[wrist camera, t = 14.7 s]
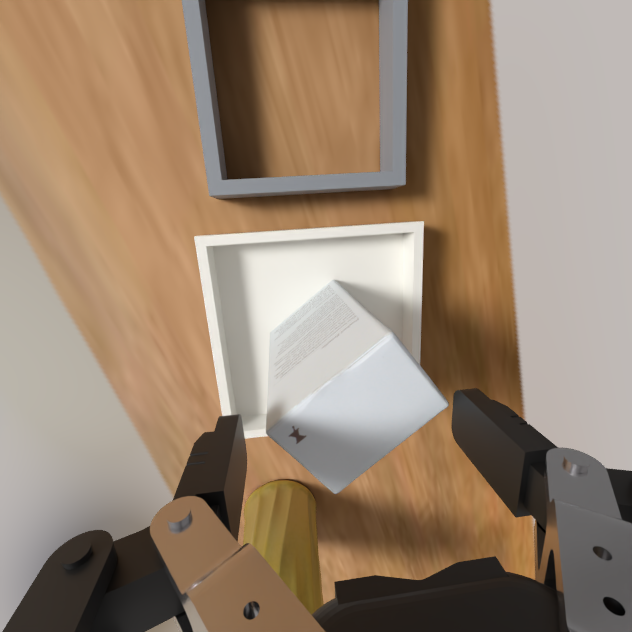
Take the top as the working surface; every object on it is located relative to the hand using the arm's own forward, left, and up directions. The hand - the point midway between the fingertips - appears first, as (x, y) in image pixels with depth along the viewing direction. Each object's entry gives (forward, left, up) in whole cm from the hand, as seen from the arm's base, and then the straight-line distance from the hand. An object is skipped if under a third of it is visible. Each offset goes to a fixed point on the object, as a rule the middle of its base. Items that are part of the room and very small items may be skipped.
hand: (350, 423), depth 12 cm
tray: (0, 0, -13) cm, 13 cm away
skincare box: (0, 0, -12) cm, 12 cm away
